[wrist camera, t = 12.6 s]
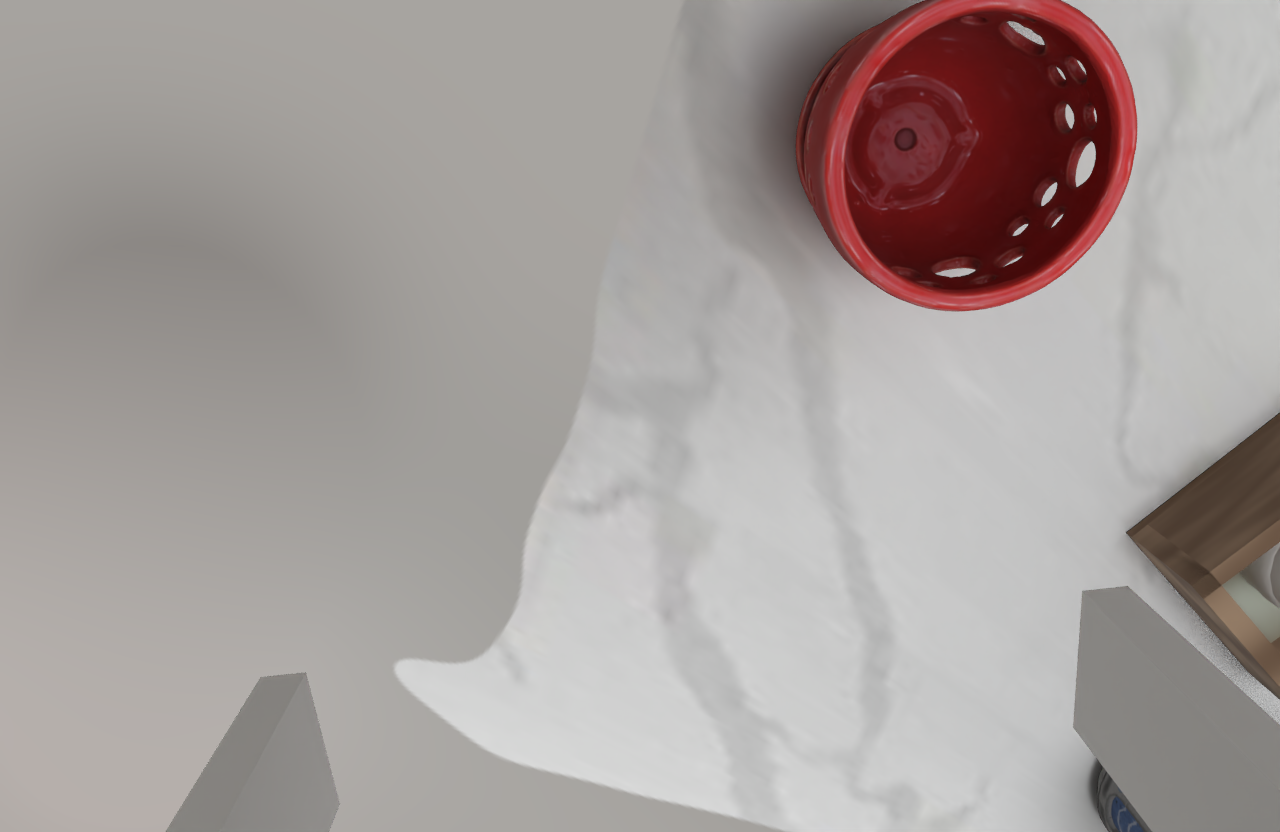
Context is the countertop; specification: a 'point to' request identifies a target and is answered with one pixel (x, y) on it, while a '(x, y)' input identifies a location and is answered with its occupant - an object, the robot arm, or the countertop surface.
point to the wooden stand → (1225, 548)
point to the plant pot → (967, 148)
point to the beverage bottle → (1117, 807)
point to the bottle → (1266, 575)
